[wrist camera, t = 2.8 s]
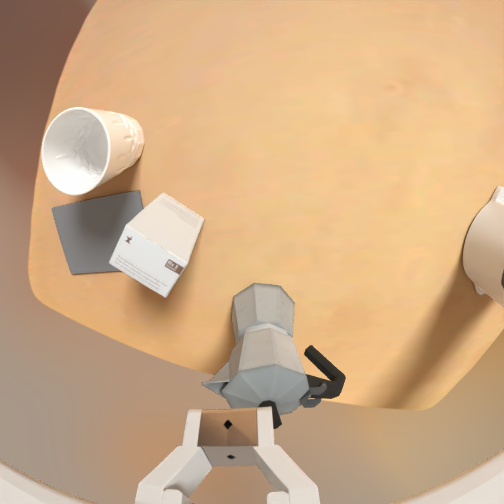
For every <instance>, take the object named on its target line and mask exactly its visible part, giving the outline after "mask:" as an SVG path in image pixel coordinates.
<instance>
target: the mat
mask: <svg viewBox="0 0 504 504" xmlns="http://www.w3.org/2000/svg"><path fill="white" fill-rule="evenodd" d="M142 210H143V204H142V198H141V193H140V190H138V191H132V192H126V193H120V194H115V195H110V196H105V197H99V198H94V199H90V200H85V201H80V202H75V203H71V204H66V205H62V206H58V207H54V208H52V212H53V216H54V220H55V223H56V227H57V231H58V234H59V238H60V241H61V244H62V248H63V251H64V254H65V257H66V260H67V263H68V266H69V269H70V272H71V274H80V273H94V272H108V271H120V270H119V269H117V268H116V267H114V266H112V265H111V264H109V261H110V258H111V256H112V254H113V252H114V250H115V248H116V246H117V243H118V241H119V239H120V237H121V235H122V232H123V230H124V228H125V226H126V224H127V223H129V222H130V221H131V220H132V219H133V218H134V217H135V216H136V215H137V214H138V213H139V212H141V211H142Z"/></svg>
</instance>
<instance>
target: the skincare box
mask: <svg viewBox="0 0 504 504" xmlns="http://www.w3.org/2000/svg"><path fill="white" fill-rule="evenodd" d="M203 222H204V218H203V217H201V216H200V215H198V214H197V213H195V212H193V211H192V210H190V209H189V208H187V207H186V206H184V205H183V204H181V203H179V202H178V201H176V200H175V199H173V198H172V197H170V196H169V195H167V194H166V193H164V192H163V193H161V194H160V195H159V196H158V197H157V198H156V199H154V200H153V201H152V202H151V203H150V204H149V205H147V206H146V207H145V208H144V209H143V210H142V211H141V212H139V213H138V214H137V215H136V216H135V217H134V218H133V219H132V220H131V221H130V222H129V223H127V224H126V226H125V228H124V230H123V232H122V235H121V237H120V239H119V241H118V243H117V246H116V248H115V250H114V252H113V254H112V256H111V258H110V261H109V264H111V265H112V266H114V267H116V268H117V269H119V270H120V271H122V272H124V273H125V274H127V275H129V276H130V277H132V278H133V279H135V280H137V281H138V282H140V283H142V284H143V285H145V286H146V287H148V288H150V289H152V290H153V291H155V292H157V293H158V294H160V295H162V296H163V297H165V298H166V297H167V296H168V294H169V293H170V291H171V290H172V288H173V286H174V285H175V283H176V282H177V280H178V279H179V277H180V275H181V274H182V273H183V271H184V270H185V268H186V267H187V265H188V262H189V259H190V256H191V254H192V251H193V248H194V246H195V243H196V240H197V238H198V235H199V232H200V230H201V227H202V225H203Z"/></svg>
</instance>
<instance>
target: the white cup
mask: <svg viewBox="0 0 504 504" xmlns="http://www.w3.org/2000/svg"><path fill="white" fill-rule="evenodd" d="M143 146H144V136H143V130H142V128H141V127H140V125H139V124H138V122H137V121H136V120H135V119H133V118H131V117H129V116H127V115H125V114H119V113H116V112H110V111H106V110H98V109H90V108H82V107H75V108H70V109H67V110H65V111H63V112H62V113H60V114H59V115H58V116H57V117H56V118H55V119H54V120H53V121H52V122H51V124H50V125H49V127H48V129H47V131H46V133H45V136H44V139H43V143H42V164H43V168H44V171H45V173H46V176H47V178H48V179H49V181H50V182H51V184H52V185H53V186H54V187H55V188H56V189H58V190H59V191H61V192H63V193H65V194H68V195H82V194H85V193H87V192H89V191H91V190H92V189H94V188H96V187H98V186H99V185H101V184H103V183H104V182H106V181H108V180H110V179H112V178H113V177H115V176H117V175H118V174H120V173H121V172H123V171H124V170H125V169H127V168H129V167H131V166H133V165H134V163H135V162H136V161H137V160H138V158H139V157H140V156H141V154H142V150H143Z"/></svg>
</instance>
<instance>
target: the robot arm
mask: <svg viewBox="0 0 504 504" xmlns="http://www.w3.org/2000/svg"><path fill="white" fill-rule="evenodd" d="M463 266H464V270H465V273H466V275H467V276H468V278H469V279H471V280H472V281H473V283H474V286H475V290H476V292H477V293H478V294H480V295H483V294H485V293H486V294H488V295H489V296H490V297H491V298H493V299H494V300H495V301H497V302H498V303H499V304H500V305H502V306H503V307H504V187H502V186H498V187H497V189H496V190H495V192H494V194H493V196H492V198H491V200H490V201H489V202H488V204H487V205H485V206H484V207H483V208H482V210H481V211H480V212H479V213H478V214H477V216H476V217H475V219H474V221H473V223H472V224H471V227H470V229H469V231H468V234H467V237H466V240H465V244H464V250H463ZM212 466H258V468H259V469H260V470H261V472H262V473H263V474H264V475H265V477H266V478H267V479H268V481H269V482H270V484H271V485H272V486H273V487H274V488H275V490H276V491H277V492H271V493H269V494H268V495H267V504H320V500H319V494H318V487H317V485H316V484H315V483H314V482H313V481H312V480H311V479H310V478H309V477H308V476H307V475H306V474H305V473H304V472H303V471H302V470H301V469H300V468H299V467H298V466H297V465H296V464H295V463H294V461H293V460H291V458H290V457H289V456H288V455H287V454H286V453H285V452H284V451H283V450H282V448H281V447H280V446H279V445H275V443H274V429H273V417H272V407H259V408H257V407H254V408H239V409H189V410H188V412H187V417H186V423H185V429H184V435H183V441H182V446H177V447H176V448H175V449H174V450H173V451H172V452H171V453H170V454H169V455H168V456H167V457H166V458H165V459H164V460H163V461H162V462H161V463H160V464H159V465H158V466H157V467H156V468H155V469H154V470H153V471H152V472H151V473H150V474H148V475H147V476H146V477H145V478H144V479H143V480H142V481H141V482H140V483H139V486H138V491H137V495H136V500H135V504H194V503H192V502H191V501H190V500H189V499H188V498H189V497H190V496H191V494H192V493H193V492H194V491H195V489H196V488H197V487H198V486H199V484H200V483H201V482H202V481H203V479H204V478H205V477H206V475H207V474H208V473H209V471H210V470H211V469H212ZM0 504H97V503H94V502H91V501H88V500H85V499H82V498H80V497H77V496H74V495H71V494H69V493H67V492H64V491H62V490H59V489H57V488H54V487H52V486H50V485H48V484H46V483H43V482H41V481H39V480H37V479H35V478H33V477H31V476H29V475H27V474H25V473H23V472H22V471H19V470H18V469H16V468H14V467H13V466H11V465H9V464H7V463H6V462H4V461H2V460H1V459H0ZM389 504H504V449H502V450H501V451H499V452H498V453H496V454H494V455H493V456H491V457H490V458H488V459H486V460H485V461H483V462H481V463H480V464H478V465H476V466H474V467H472V468H471V469H469V470H467V471H465V472H463V473H461V474H459V475H457V476H455V477H453V478H451V479H449V480H447V481H445V482H443V483H441V484H439V485H436V486H434V487H432V488H429V489H427V490H424V491H422V492H419V493H417V494H415V495H412V496H409V497H407V498H403V499H401V500H398V501H395V502H392V503H389Z"/></svg>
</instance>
